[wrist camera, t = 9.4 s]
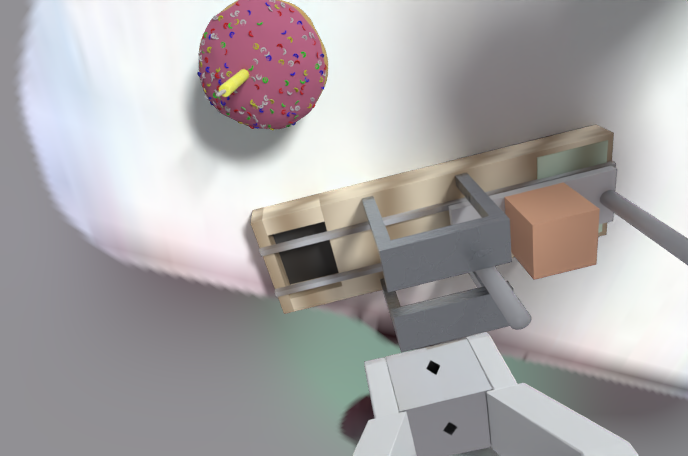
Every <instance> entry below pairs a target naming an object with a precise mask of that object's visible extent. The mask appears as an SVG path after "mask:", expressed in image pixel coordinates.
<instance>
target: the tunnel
mask: <svg viewBox="0 0 688 456" xmlns="http://www.w3.org/2000/svg"><path fill="white" fill-rule="evenodd" d="M455 181H456V187H457V188H458V189H459V190H460V191H461V193H462V194H463V195H464V196H465V198H466V199H467V200H468V201H469V202H470V204H471V205H472V206H473V207H474V209H475V210H476V211H477V212H478V214H479V215H480V216H481V217H482V218H479V219H474V220H470V221H466V222H462V223H458V224H454V225H450V226H446V227H442V228H438V229H434V230H430V231H426V232H422V233H418V234H414V235H410V236H406V237H402V238H398V239H394V240H390V237H389V234H388V232H387V229H386V227H385V224H384V222H383V219H382V217H381V214H380V212H379V209H378V206H377V204H376V201H375V199H374V196H370V197H366V198H362V202H363V207H364V211H365V214H366V217H367V220H368V223H369V226H370V229H371V232H372V235H373V238H374V241H375V244H376V247H377V250H378V253H379V256H380V261H381V266H382V270H383V275H384V278H383V279H380V282H381V287H382V290H383V293H384V297H385V300H386V303H387V307H388V310H389V313H390V317H391V320H392V323H393V327H394V330H395V333H396V336H397V340H398V343H399V346H400V350H401V352H405V351H409V350H413V349H417V348H421V347H425V346H429V345H433V344H437V343H441V342H446V341H450V340H454V339H458V338H462V337H466V336H470V335H474V334H478V333H482V332H486V331H491V330H495V329H499V328H503V327H507V326H510V325H509V323H508V322H507V320H506V318H505V317H504V315H503V314H502V312H501V311H500V309H499V308H498V306H497V304H496V303H495V301H494V300H493V298H492V297H491V295H490V294H489V292H488V290H487V289H486V287H485V286H484V284H483V283H482V281H481V279H480V278H479V276H478V275H477V273H476V272H475V271H477V270H481V269H485V268H489V267H493V266H497V265H501V264H505V263H509V262H512V255H511V235H510V219H509V218H508V216H507V215H506V214H505V213H504V212H503V211H502V210H501V209H500V208H499V207H498V206H497V205H496V204H495V202H494V201H493V200H492V199H491V198H490V197H489V196H488V195H487V194H486V193H485V192H484V191H483V190H482V188H481V187H480V186H479V185H478V184H477V183H476V182H475V181H474V180H473V179H472V178H471V177H470V176H469V174H468V173H467V172H466V173H462V174H458V175H455ZM465 273H469V274H470V276H471V278H472V279H473V281H474V283H475V284H476V286H477V287H478V288H475V289H471V290H467V291H463V292H459V293H455V294H451V295H447V296H443V297H439V298H435V299H431V300H427V301H423V302H418V303H414V304H410V305H406V306H402V307H401V306H400V303H399V300H398V298H397V295H396V292H395V291H396V290H400V289H404V288H408V287H412V286H416V285H420V284H424V283H428V282H432V281H436V280H440V279H444V278H448V277H453V276H457V275H461V274H465ZM506 282H507V284H508V285H509V286H510V288H511V289H512V291H513V288H512V286H511V285H510V284H509V282H508V281H506Z"/></svg>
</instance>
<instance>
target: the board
mask: <svg viewBox="0 0 688 456" xmlns="http://www.w3.org/2000/svg"><path fill="white" fill-rule="evenodd" d="M613 136H614V133H613V132H611V131H609V130H606V129H604V128H602V127H600V126H598V125H592V126H588V127H584V128H580V129H576V130H572V131H568V132H564V133H560V134H556V135H552V136H548V137H544V138H540V139H536V140H532V141H528V142H524V143H520V144H516V145H512V146H508V147H504V148H500V149H496V150H492V151H488V152H484V153H480V154H476V155H472V156H468V157H464V158H460V159H456V160H452V161H448V162H444V163H440V164H436V165H432V166H428V167H424V168H420V169H416V170H412V171H408V172H404V173H400V174H396V175H392V176H388V177H384V178H380V179H376V180H372V181H368V182H364V183H360V184H356V185H352V186H348V187H344V188H340V189H336V190H332V191H328V192H324V193H320V194H316V195H312V196H308V197H304V198H300V199H296V200H292V201H288V202H284V203H280V204H276V205H272V206H268V207H264V208H260V209H256V210H253V211H252V218H251V226H252V229H253V231H254V234H255V237H256V239H257V242H258V245H259V247H260V250H259V252H260V255H261V256H263V258H264V261H265V264H266V266H267V269H268V272H269V274H270V277H271V280H272V282H273V285H274V288H275V295H276V297H278V299H279V301H280V304H281V307H282V309H283V312H284V314H286V313H290V312H294V311H298V310H302V309H306V308H310V307H314V306H319V305H323V304H327V303H331V302H335V301H339V300H343V299H347V298H351V297H355V296H359V295H363V294H367V293H371V292H375V291H379V290H382V287H381V282H380V279H383V278H384V275H383V270H382V266H381V261H380V256H379V253H378V250H377V247H376V244H375V241H374V238H373V235H372V232H371V229H370V226H369V223H368V220H367V217H366V214H365V211H364V207H363V202H362V198H366V197H370V196H374V199H375V201H376V204H377V206H378V209H379V212H380V214H381V217H382V219H383V222H384V224H385V227H386V229H387V232H388V234H389V237H390V240H394V239H398V238H402V237H406V236H410V235H414V234H418V233H422V232H426V231H430V230H434V229H438V228H442V227H446V226H450V225H451V224H450V215H449V207H448V206H450V205H454V204H458V203H463V202H467V201H468V200H467V199H466V198H465V196H464V195H463V194H462V193H461V191H460V190H459V189H458V188H457V187H456V181H455V175H458V174H462V173H466V172H467V173H468V174H469V176H470V177H471V178H472V179H473V180H474V181H475V182H476V183H477V184H478V185H479V186H480V187H481V188H482V190H483V191H484V192H485V193H486V194H487V195H488V196H491V195H495V194H499V193H503V192H507V191H511V190H515V189H519V188H523V187H527V186H531V185H535V184H539V183H543V182H547V181H551V180H555V179H559V178H563V177H567V176H571V175H575V174H579V173H583V172H587V171H591V170H595V169H599V168H603V167H608V166H613V167H614V168H616V163H615V162H613V161H612V149H613ZM606 232H607V223H603V224H599V228H598V237H599V236H603V235H606ZM511 255H512V258H513V257H515V256H514V255H513V254H512V253H511Z"/></svg>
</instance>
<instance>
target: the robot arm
mask: <svg viewBox="0 0 688 456" xmlns="http://www.w3.org/2000/svg"><path fill="white" fill-rule="evenodd" d="M386 362H387V363H386ZM387 366H388V367H387ZM388 370H389V371H388ZM365 372H366V376H367V382H368V387H369V392H370V397H371V402H372V407H373V412H374V418H375V419H371V420H368V423H367V425H366V427H365V429H364V431H363V433H362V436H361V438H360V440H359V442H358V444H357V446H356V449H355V451H354V453H353V455H352V456H451V455H454V454H459V453H464V452H469V451H473V450H478V449H483V448H488V447H492V449H493V450H494V451H495V452H497V453H498V454H499V455H500V456H639V455H638V454H637V452H636V451H635V450H634V448H633V447H632V446H631V444H630V443H629V442H628V441H626V440H624V439H622V438H621V437H619V436H617V435H615V434H613V433H612V432H610V431H608V430H607V429H605V428H603V427H601V426H599V425H598V424H596V423H594V422H592V421H591V420H589V419H587V418H585V417H583V416H582V415H580V414H578V413H576V412H575V411H573V410H571V409H569V408H568V407H566V406H564V405H562V404H561V403H559V402H557V401H556V400H554V399H552V398H550V397H548V396H547V395H545V394H543V393H541V392H540V391H538V390H536V389H534V388H532V387H531V386H529V385H527V384H526V383H521V384H517V382H516V380H515V378H514V377H513V375H512V373H511V372H510V370H509V368H508V366H507V365H506V363H505V361H504V359H503V357H502V356H501V354H500V352H499V351H498V349H497V347H496V345H495V344H494V342H493V340H492V338H491V337H490V335H489V334H488V333H486V332H484V333H480V334H476V335H472V336H469V337H466V338H461V339H457V340H453V341H449V342H445V343H441V344H437V345H433V346H429V347H425V348H422V349H418V350H413V351H409V352H404V353H399V354H395V355H390V356H386V359H385V357H383V358H378V359H374V360H369V361H365Z"/></svg>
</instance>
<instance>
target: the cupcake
mask: <svg viewBox="0 0 688 456" xmlns="http://www.w3.org/2000/svg"><path fill="white" fill-rule="evenodd" d="M198 55H199V72H198V76H199V77H200V79H201V83H202V87H203V90H204V92H205V94H206V95H205V98H206V97H207V98H206V99H207V100H208V99H209V100H210V104H211V105H213V106H214V107H215V108H216V109H217V111H218V112H219V113H222V114H224V115H226V116H228V117H230V118H232V119H234V120H236V121H238V123H241V124H245V125H247V126H249V127H250V128H252V127H253V128H252V129H254V128H260V129H271V130H274V129H282V128H285V127H289V126H290V125H295V124H296V122H297V121H298V120H300V119H301V118H303V117H304V116H306V115H307V114H308V113H309V112H310V111H311V110H312V108H314V107H315V104H316V102H317V101H318V99H319V97H320V95H321V93H322V91H323V89H324V87H325V84H326V81H327V76H328V59H327V54H326V50H325V48H324V45H323V43H322V41H321V39H320V37H319V35H318V33H317V31H316V29H315V27H314V25H313V23H312V21H311V19H310V18H309V17H308V16H307V15H306V14H305V13H304V12H303V11H302V10H301V9H300V8H299V7H297V6H295V5H294V4H292V3H289V2H286V1H282V0H238V1H236V2H234V3H232V4H231V5H229V6H228V7H226V8H225V9H224V10H223V11H221V12H220V13H219V14H217V15H216V16H214V17H213V18H212V20H211V21H210V22H209V24H208V26H207V28H206V30H205V32H204V34H203V36H202V39H201V43H200V48H199V53H198ZM199 74H200V75H199Z"/></svg>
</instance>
